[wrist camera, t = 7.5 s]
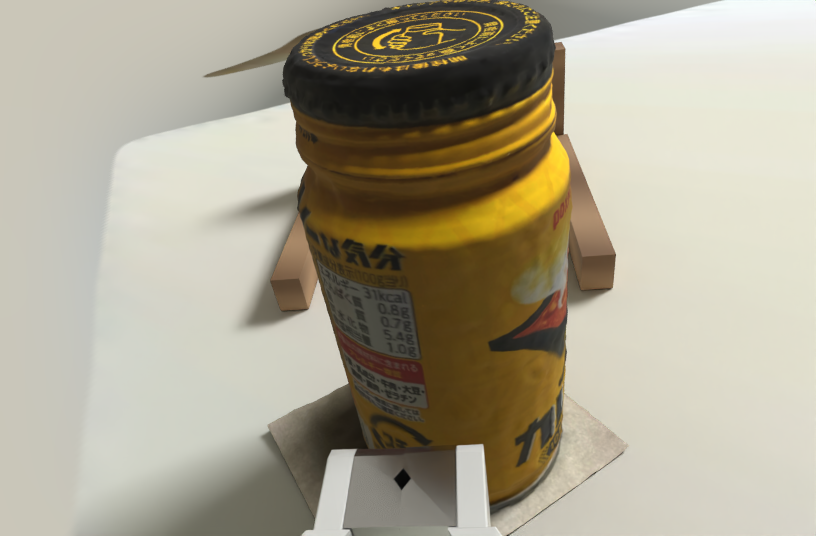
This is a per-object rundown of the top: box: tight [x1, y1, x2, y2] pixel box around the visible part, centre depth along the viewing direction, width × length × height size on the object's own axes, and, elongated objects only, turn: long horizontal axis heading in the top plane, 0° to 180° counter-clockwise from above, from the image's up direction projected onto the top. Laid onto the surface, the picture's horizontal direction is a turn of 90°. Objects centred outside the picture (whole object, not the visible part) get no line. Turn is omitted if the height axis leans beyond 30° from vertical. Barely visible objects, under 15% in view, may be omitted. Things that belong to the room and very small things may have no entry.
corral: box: [270, 42, 616, 311], centre depth 26 cm, size 12×13×6 cm
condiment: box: [268, 0, 629, 536], centre depth 14 cm, size 7×8×12 cm
